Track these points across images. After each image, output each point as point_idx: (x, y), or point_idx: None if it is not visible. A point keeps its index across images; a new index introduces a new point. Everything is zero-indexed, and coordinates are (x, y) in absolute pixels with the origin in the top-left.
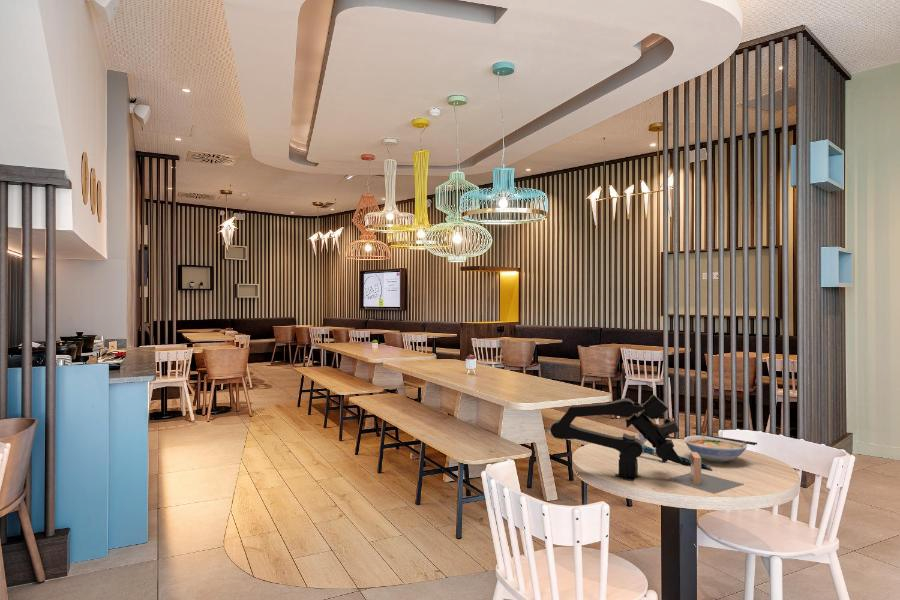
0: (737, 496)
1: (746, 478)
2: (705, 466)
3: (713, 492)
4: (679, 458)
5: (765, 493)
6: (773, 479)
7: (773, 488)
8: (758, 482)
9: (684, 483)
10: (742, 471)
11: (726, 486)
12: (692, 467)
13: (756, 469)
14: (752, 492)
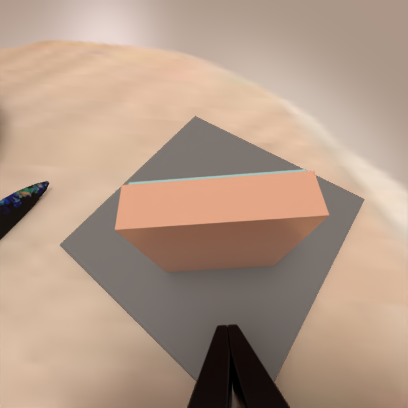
0: (325, 142)
1: (114, 111)
2: (19, 198)
3: (350, 201)
4: (251, 351)
5: (251, 88)
6: (113, 68)
7: (195, 73)
8: (149, 92)
9: (279, 310)
10: (40, 113)
11: (244, 158)
12: (226, 252)
13: (20, 87)
14: (257, 109)
